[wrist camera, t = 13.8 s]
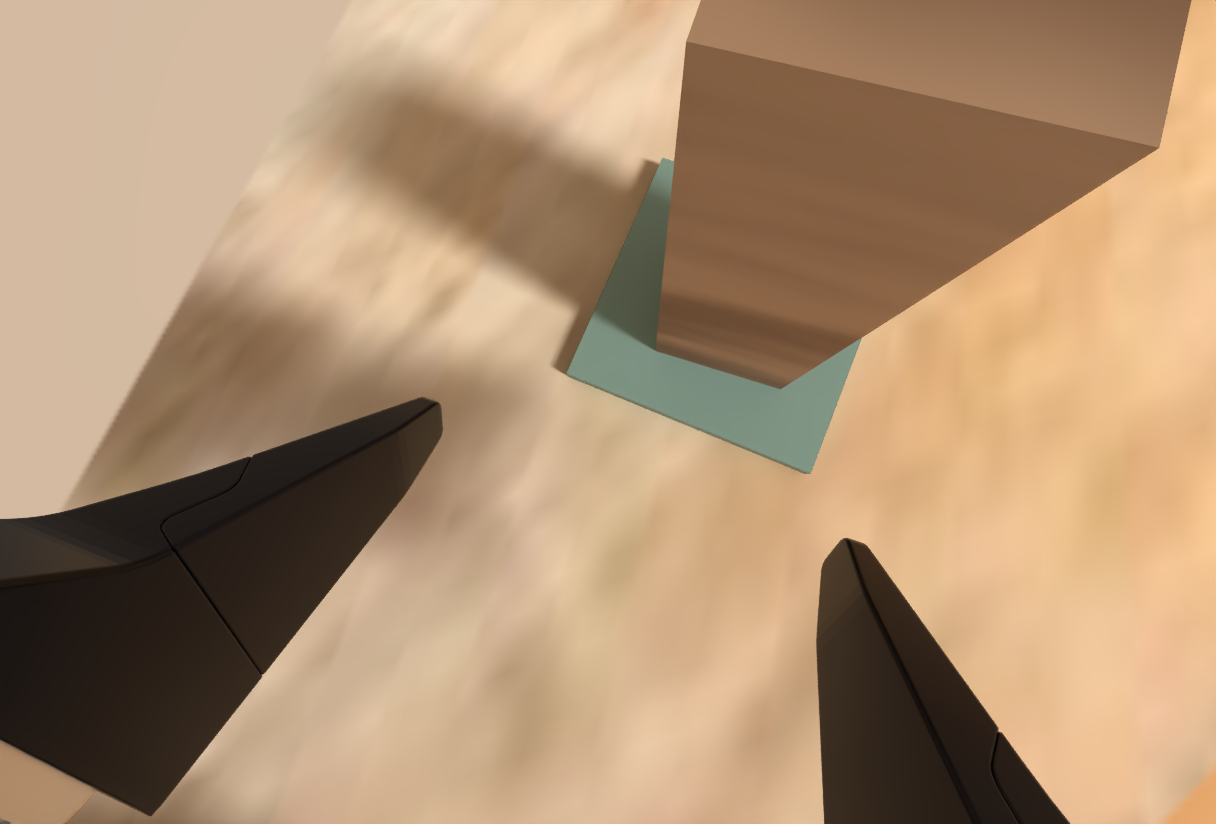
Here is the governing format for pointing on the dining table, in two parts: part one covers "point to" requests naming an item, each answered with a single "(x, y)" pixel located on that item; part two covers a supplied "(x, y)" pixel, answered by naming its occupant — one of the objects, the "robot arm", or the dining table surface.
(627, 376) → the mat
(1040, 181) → the letter block
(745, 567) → the dining table surface
